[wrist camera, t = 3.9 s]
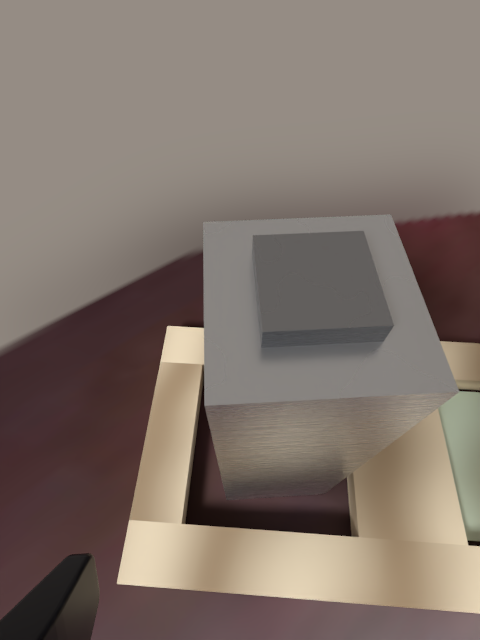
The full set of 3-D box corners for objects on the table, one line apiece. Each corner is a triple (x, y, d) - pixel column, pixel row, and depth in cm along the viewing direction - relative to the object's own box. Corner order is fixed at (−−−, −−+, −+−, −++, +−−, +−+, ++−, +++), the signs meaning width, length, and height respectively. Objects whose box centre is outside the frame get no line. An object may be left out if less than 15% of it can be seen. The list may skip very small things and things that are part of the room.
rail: (588, 360, 21) (605, 350, 20) (715, 630, 15) (749, 635, 14) (170, 336, 22) (167, 326, 21) (124, 582, 16) (116, 583, 15)
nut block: (324, 494, 18) (476, 378, 6) (226, 500, 18) (201, 393, 6) (309, 400, 20) (399, 194, 9) (223, 405, 20) (201, 202, 9)
